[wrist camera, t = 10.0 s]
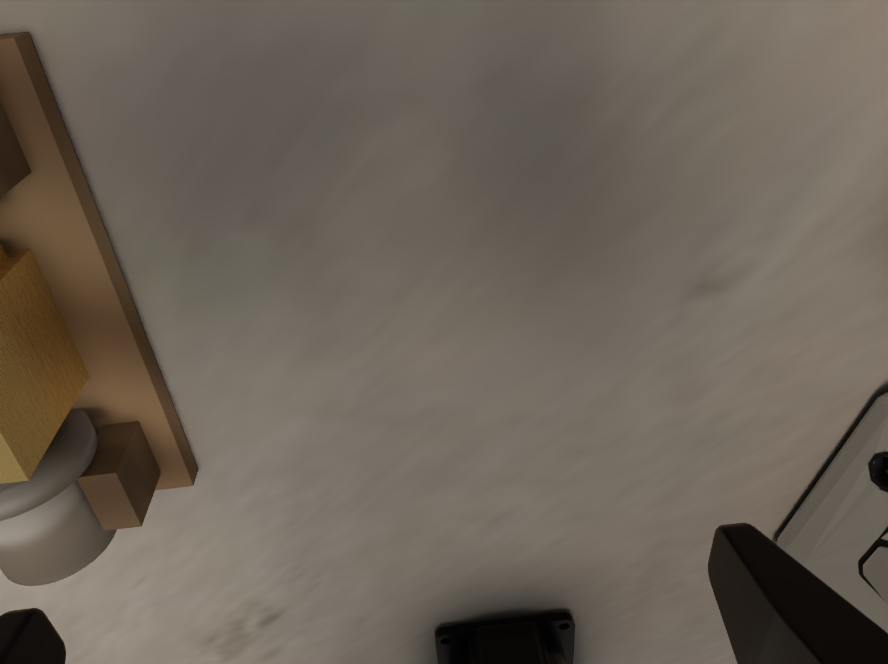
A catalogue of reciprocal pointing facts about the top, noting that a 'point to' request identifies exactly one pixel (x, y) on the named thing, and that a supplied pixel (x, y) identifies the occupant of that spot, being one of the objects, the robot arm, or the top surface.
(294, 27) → the top surface
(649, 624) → the top surface
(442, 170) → the top surface
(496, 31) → the top surface
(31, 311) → the yellow hollow block
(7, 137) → the pipe cradle
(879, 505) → the electrical switch
